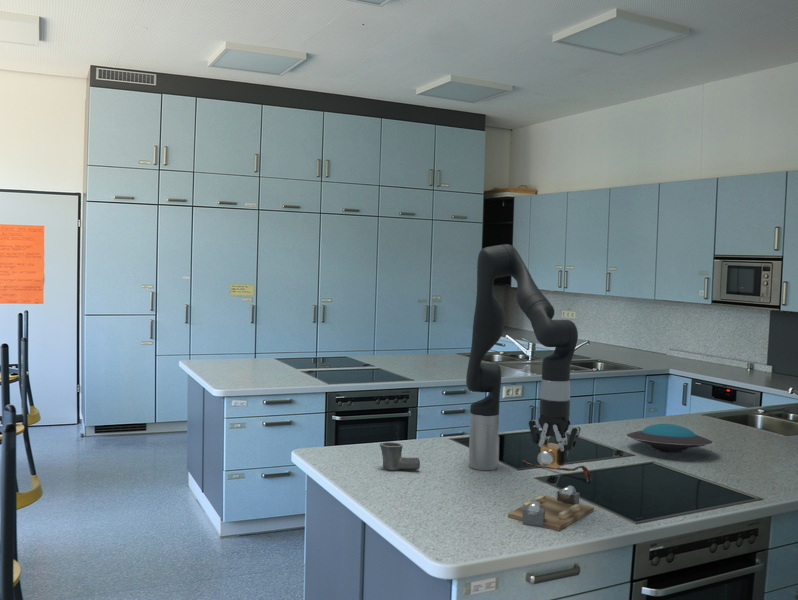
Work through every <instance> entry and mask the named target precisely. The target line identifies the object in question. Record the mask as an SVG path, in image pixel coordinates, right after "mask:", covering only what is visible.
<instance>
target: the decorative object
mask: <svg viewBox="0 0 798 600" xmlns="http://www.w3.org/2000/svg"><path fill="white" fill-rule="evenodd" d="M624 436H625V437H627V438H630V439H631V440H635V441H637V442H639V443H640V442H641V443H644V444H646V445H648V446H650V447H652V448H653V449H654V450H656V451H659V452H661V453H670V454H671V453H673V454H679V453H682V452H683V451H686V450H687V449H688V448H698V447H705V446H708V445H712V444H714V442H713V441H712V440H711V439H709V438H706V437H703V436H701V435H697V434H696V433H695V432H694V431H692V430H691V429H689V428H687V427H685V426H682V425H677V424H673V423H655V424H651V425H649V426H646V427H645V428H643V429H642V430H638V431H637V430H636V431H633V432H629V433H627V434H625V435H624Z"/></svg>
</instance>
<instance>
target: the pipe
mask: <svg viewBox="0 0 798 600" xmlns="http://www.w3.org/2000/svg"><path fill="white" fill-rule="evenodd" d="M379 446H380V450H381V455H382V468H383V469H384V470H385V471H386V470H387V471H399V470H401V471H402V470H405V471H412V470H413V471H417V470H420V467H421V463H420V462H421V461H420V458H419V457H404V456H402V453H403V452H402V451H403V444H401V443H398V442H390V441H389V442H380V443H379Z"/></svg>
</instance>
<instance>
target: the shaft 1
mask: <svg viewBox="0 0 798 600" xmlns="http://www.w3.org/2000/svg"><path fill="white" fill-rule="evenodd" d="M544 520H545V509H542V508H541V504H540V503H539V502H538V501H532V502H531V504H530V505H529V507H527V506H525V507H524V509H523V521H522V525H527V526H533V527H541V528H544V527H543V522H544Z"/></svg>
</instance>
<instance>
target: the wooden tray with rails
mask: <svg viewBox="0 0 798 600" xmlns="http://www.w3.org/2000/svg"><path fill="white" fill-rule="evenodd" d="M532 501H538V502H539V503H540V504H541V508H542V509H545V520H544V522H543V527H542V528H546V529H550V530H553V531H556V532H557V531H558V532H560V531H561V530H564V529H565V528H567V527H568V526H570V525H572V524H573V523H575V522H577V521H579V520H581V519H582V518H584V517H585V516H587V515H589V514H590V513H592V512H594V510H595V509H594V507H595V506H593V505H592V506H591V505H587V504H582V503H580V502H579V503H577V504H575V505H573V504H569V503H565V502H561V501H557V497H555V496H550V495H546V494H545V495H543V494H542V495H539V496H536V498H533V499H531V500H529V501H527V502H524V503H522V504H523V505H522V506H520V507H518V508H516V509H514V510H512V511H509V512H508V513H507V518H510V519H514V520H517V521H519V522H520V521H521V522H523V509H524V507H525V506H527V507H529V505H530V504H531V502H532Z"/></svg>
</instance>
